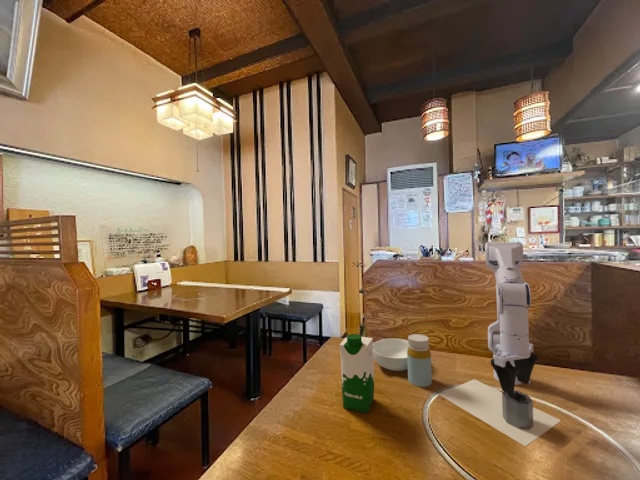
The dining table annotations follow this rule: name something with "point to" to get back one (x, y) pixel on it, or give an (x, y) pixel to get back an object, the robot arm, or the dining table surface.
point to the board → (496, 410)
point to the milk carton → (357, 372)
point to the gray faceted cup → (518, 410)
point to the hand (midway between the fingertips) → (515, 387)
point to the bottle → (419, 360)
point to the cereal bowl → (391, 353)
